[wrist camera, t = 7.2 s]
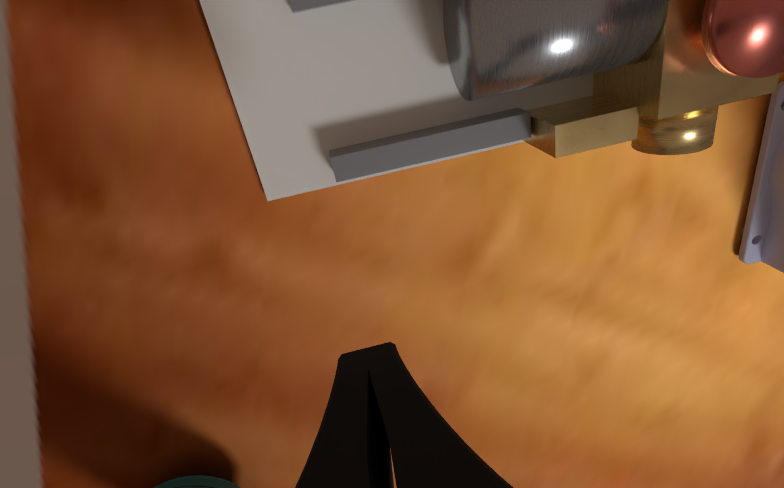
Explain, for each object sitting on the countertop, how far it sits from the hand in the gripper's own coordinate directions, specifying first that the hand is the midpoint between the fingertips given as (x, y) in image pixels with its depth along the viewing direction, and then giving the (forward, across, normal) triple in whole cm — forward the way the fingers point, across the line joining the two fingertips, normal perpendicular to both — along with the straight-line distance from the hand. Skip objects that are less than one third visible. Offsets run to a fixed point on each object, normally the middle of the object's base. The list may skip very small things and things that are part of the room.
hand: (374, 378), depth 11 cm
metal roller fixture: (+10, -7, -6) cm, 14 cm away
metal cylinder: (+9, -8, -6) cm, 14 cm away
